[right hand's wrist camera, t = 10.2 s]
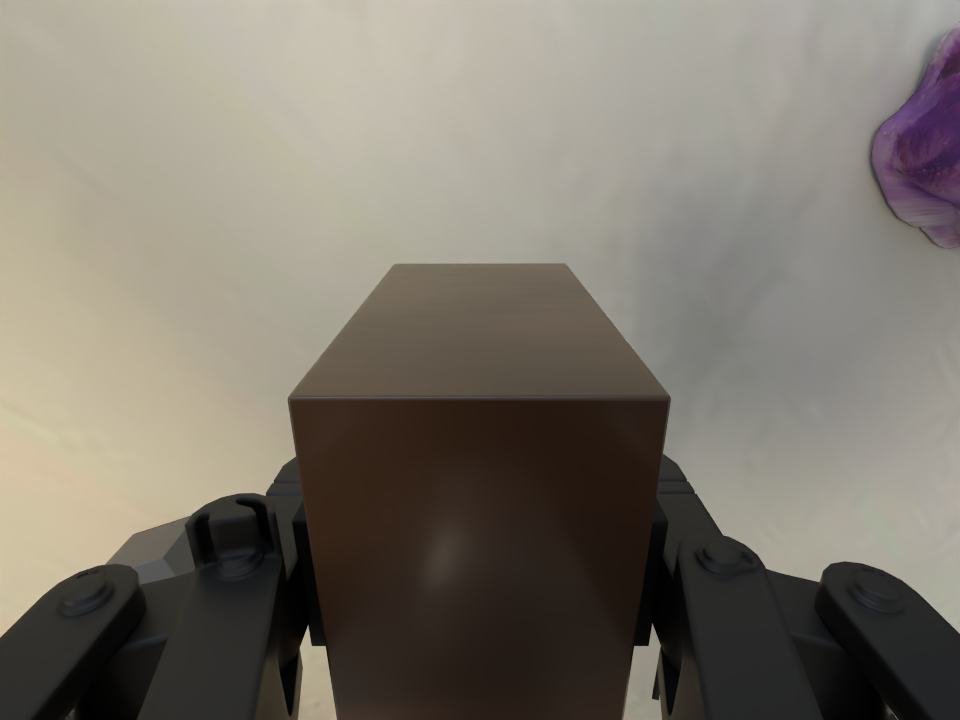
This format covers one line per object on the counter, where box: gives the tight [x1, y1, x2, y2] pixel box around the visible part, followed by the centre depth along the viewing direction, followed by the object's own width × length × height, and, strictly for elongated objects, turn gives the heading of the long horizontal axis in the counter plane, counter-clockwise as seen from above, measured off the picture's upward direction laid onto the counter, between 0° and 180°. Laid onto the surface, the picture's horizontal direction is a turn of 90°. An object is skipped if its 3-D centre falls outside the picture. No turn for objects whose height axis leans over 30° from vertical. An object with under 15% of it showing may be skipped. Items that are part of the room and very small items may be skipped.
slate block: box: [105, 516, 195, 584], centre depth 33 cm, size 5×5×4 cm
